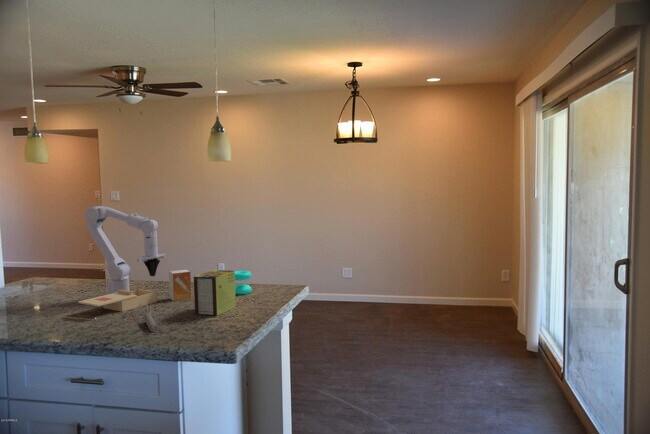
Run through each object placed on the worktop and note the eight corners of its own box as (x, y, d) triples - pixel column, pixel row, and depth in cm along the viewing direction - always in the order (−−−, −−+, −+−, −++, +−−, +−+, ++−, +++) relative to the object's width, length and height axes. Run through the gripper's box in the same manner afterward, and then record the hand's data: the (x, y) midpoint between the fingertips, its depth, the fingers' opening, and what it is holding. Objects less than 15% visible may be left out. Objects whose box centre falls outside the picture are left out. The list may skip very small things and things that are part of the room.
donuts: (232, 270, 244) (252, 270, 244) (232, 290, 245) (253, 290, 245) (227, 274, 234) (249, 273, 234) (228, 295, 235) (249, 295, 235)
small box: (173, 302, 223) (172, 273, 222) (169, 299, 228) (168, 271, 227) (191, 299, 227) (190, 271, 226) (187, 297, 233) (186, 269, 232)
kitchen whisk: (146, 335, 176) (145, 317, 176) (132, 314, 206) (132, 298, 206) (164, 333, 179) (163, 315, 179) (148, 312, 209) (148, 297, 209)
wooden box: (103, 309, 213) (102, 297, 212) (138, 300, 228) (137, 289, 228) (122, 312, 207) (122, 300, 206) (157, 303, 222) (156, 291, 222)
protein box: (236, 306, 214) (235, 270, 213) (217, 316, 199) (215, 277, 198) (214, 305, 217) (213, 269, 216) (194, 314, 203) (192, 276, 202)
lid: (78, 303, 203) (77, 298, 203) (117, 293, 219) (117, 289, 219) (98, 306, 197) (98, 301, 197) (136, 296, 213) (136, 291, 212)
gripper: (143, 248, 221) (145, 279, 222) (169, 244, 234) (171, 273, 235) (133, 248, 225) (134, 278, 226) (159, 243, 237) (160, 272, 238)
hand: (152, 275), depth 230 cm, fingers closed
